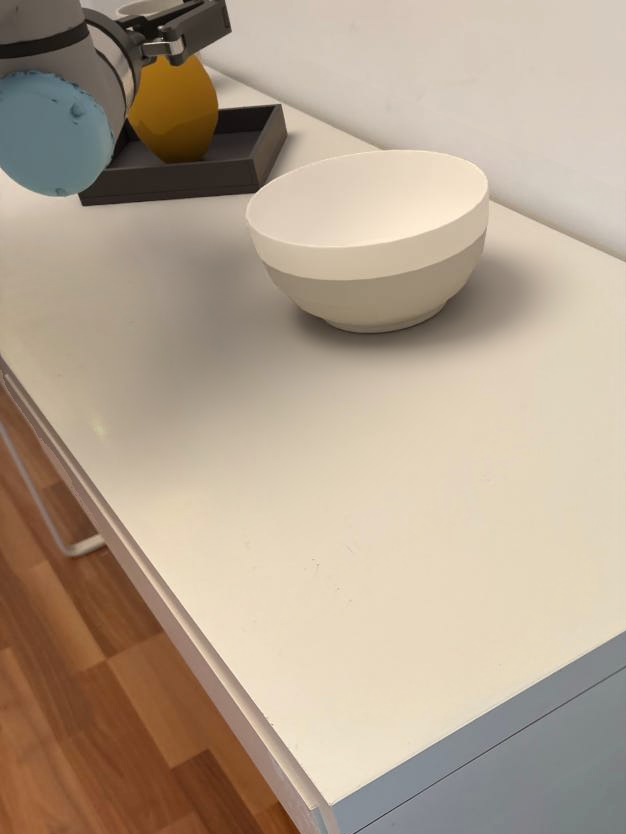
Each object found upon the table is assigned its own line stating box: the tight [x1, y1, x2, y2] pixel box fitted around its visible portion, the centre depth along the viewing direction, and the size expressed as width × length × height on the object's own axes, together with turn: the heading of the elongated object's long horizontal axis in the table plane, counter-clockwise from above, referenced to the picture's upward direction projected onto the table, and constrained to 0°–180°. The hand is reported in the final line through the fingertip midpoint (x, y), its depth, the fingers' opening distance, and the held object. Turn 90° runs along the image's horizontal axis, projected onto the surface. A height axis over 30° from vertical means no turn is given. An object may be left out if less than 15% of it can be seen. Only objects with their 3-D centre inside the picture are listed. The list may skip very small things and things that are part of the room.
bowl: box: [245, 149, 490, 334], centre depth 78 cm, size 19×19×9 cm
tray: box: [76, 103, 288, 207], centre depth 106 cm, size 19×17×3 cm
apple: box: [127, 54, 219, 164], centre depth 103 cm, size 10×10×12 cm
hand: (123, 6), depth 88 cm, fingers open, 13 cm apart
